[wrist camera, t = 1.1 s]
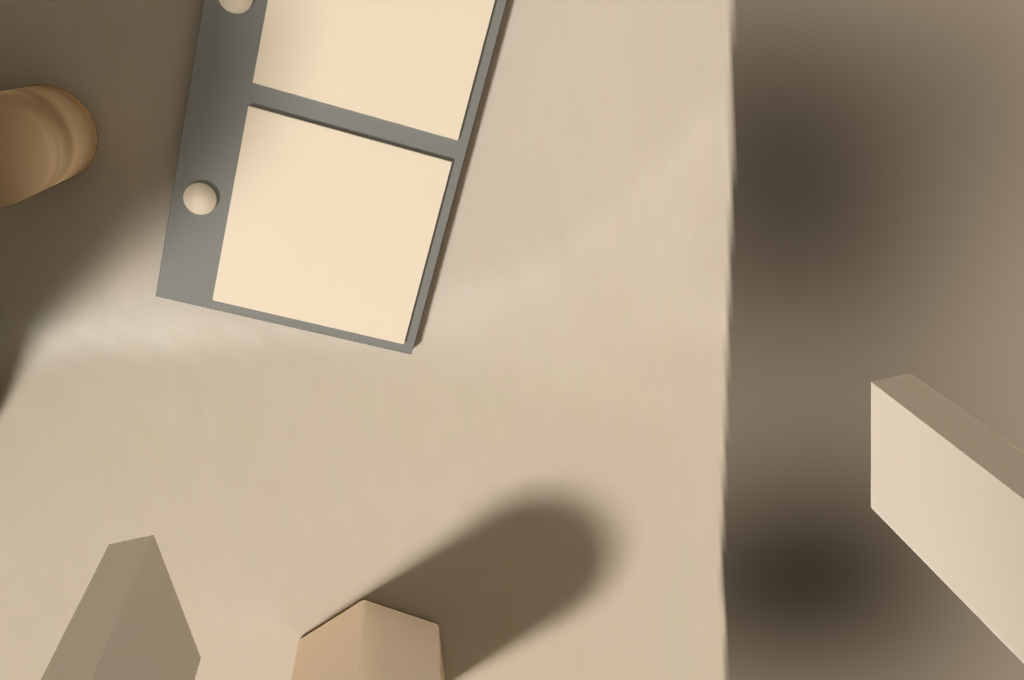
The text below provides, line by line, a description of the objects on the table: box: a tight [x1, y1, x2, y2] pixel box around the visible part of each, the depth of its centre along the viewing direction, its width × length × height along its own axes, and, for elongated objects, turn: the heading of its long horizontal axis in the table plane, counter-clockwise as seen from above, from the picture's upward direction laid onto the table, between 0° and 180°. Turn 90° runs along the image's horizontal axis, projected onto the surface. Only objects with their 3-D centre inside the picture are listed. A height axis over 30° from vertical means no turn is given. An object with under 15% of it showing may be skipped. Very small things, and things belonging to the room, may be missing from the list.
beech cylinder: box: [0, 85, 98, 207], centre depth 34 cm, size 4×4×6 cm
